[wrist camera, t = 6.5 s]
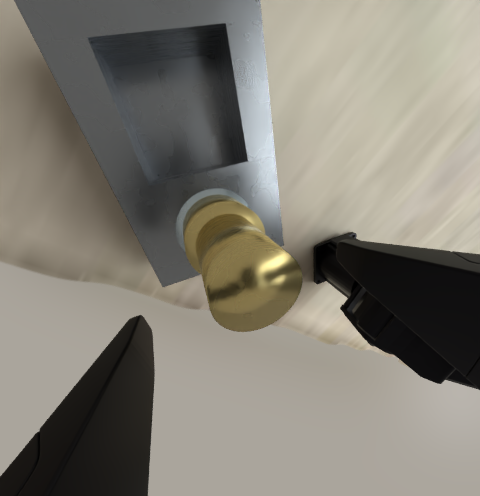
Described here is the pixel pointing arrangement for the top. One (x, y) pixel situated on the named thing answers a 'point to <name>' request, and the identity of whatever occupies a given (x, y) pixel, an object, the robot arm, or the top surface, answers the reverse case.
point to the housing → (167, 108)
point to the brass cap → (239, 264)
